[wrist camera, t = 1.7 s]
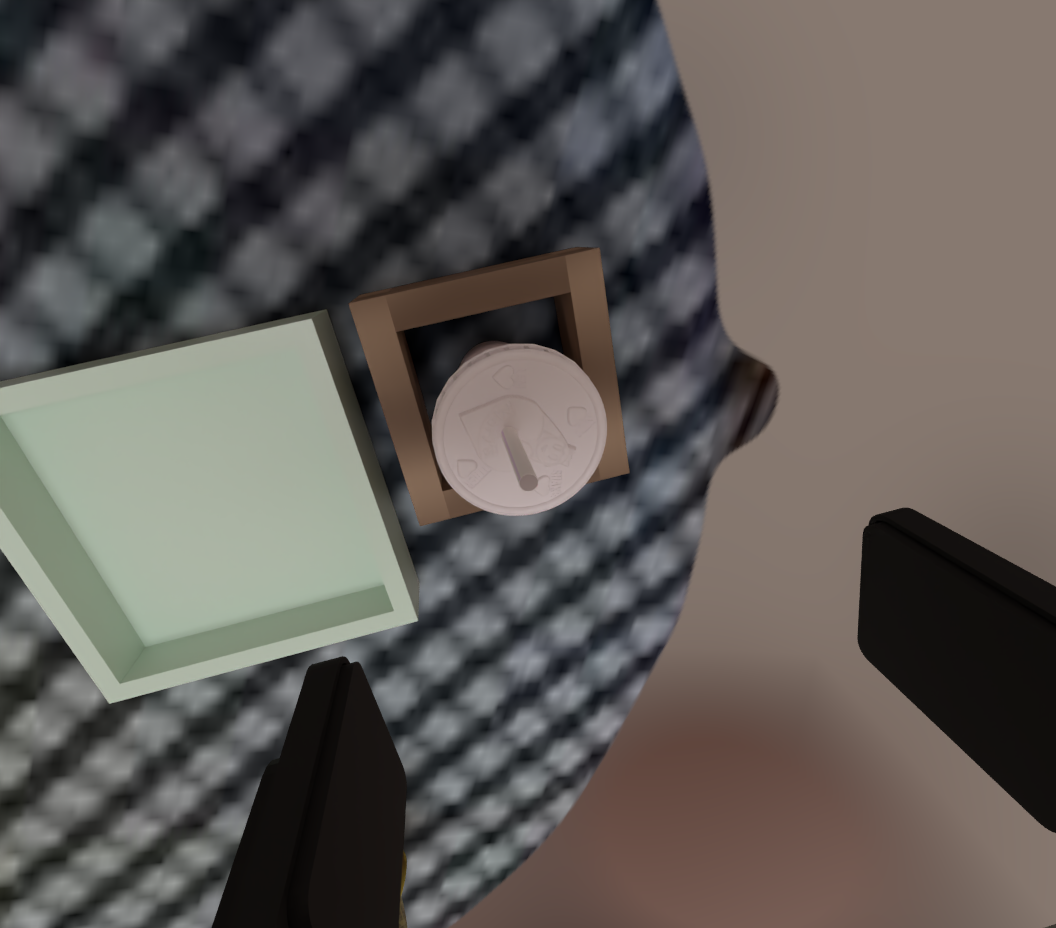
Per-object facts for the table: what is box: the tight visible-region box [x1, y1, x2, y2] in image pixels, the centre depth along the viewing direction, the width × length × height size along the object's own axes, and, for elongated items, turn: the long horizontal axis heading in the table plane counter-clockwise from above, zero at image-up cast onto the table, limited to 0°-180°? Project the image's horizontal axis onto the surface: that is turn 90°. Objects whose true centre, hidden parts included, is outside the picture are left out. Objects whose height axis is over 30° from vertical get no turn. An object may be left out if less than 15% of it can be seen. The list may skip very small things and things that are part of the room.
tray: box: [0, 309, 419, 704], centre depth 27 cm, size 16×16×4 cm
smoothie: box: [432, 341, 607, 516], centre depth 22 cm, size 6×6×14 cm
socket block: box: [348, 247, 629, 526], centre depth 26 cm, size 11×11×4 cm
